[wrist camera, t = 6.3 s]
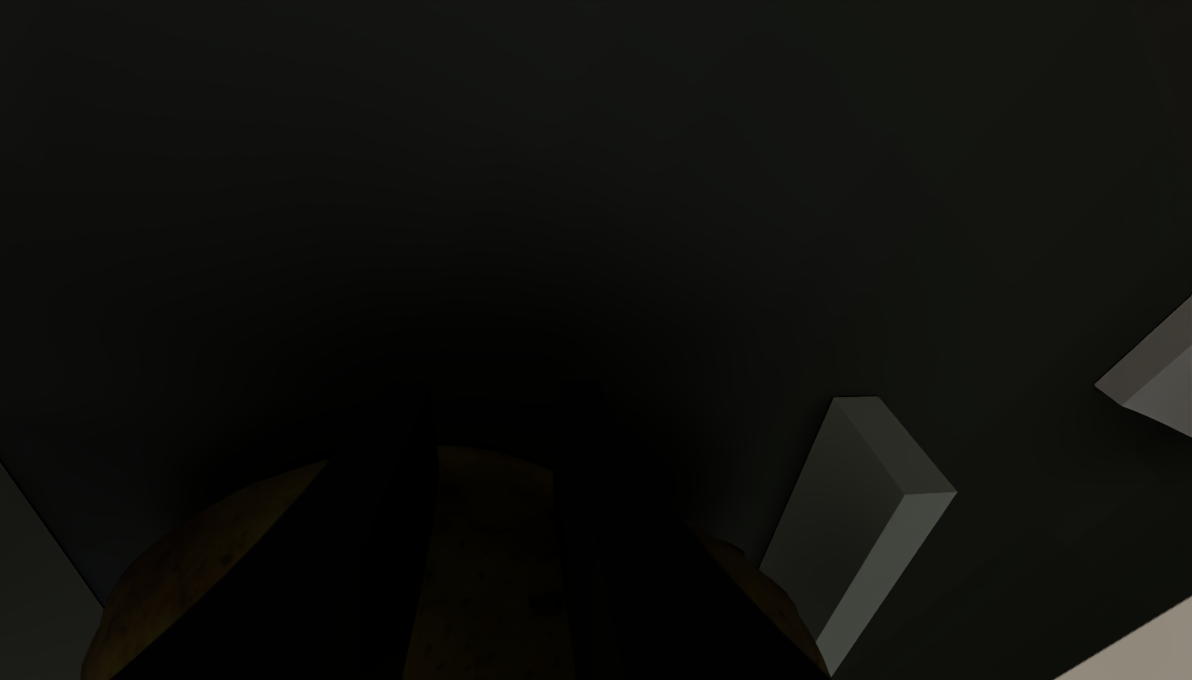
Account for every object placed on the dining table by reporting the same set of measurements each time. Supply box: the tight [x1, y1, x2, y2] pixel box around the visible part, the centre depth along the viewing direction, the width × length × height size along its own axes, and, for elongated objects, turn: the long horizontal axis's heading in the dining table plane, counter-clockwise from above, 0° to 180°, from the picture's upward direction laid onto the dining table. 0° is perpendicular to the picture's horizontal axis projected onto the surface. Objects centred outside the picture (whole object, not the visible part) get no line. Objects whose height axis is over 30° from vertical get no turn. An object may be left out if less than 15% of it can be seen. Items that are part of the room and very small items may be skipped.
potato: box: [80, 446, 832, 680], centre depth 11 cm, size 8×13×8 cm, turn 68°
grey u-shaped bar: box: [0, 396, 957, 680], centre depth 15 cm, size 20×14×3 cm
